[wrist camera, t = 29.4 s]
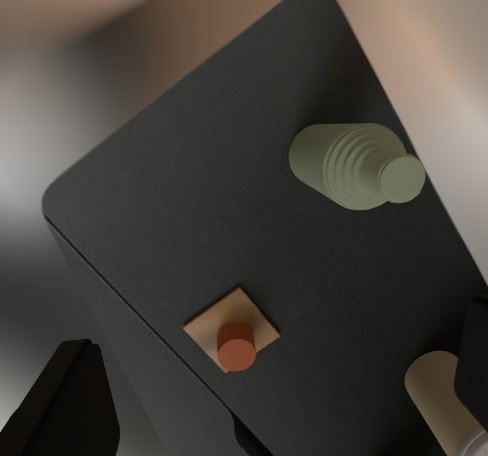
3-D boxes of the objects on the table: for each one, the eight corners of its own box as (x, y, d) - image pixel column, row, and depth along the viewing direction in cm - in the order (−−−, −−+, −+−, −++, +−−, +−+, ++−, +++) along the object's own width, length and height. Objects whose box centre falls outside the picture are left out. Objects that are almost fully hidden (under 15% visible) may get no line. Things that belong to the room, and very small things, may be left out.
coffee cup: (424, 416, 45) (495, 514, 34) (383, 378, 43) (445, 470, 32) (480, 372, 44) (574, 459, 33) (441, 331, 42) (528, 409, 30)
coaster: (182, 325, 38) (182, 328, 38) (239, 285, 37) (239, 287, 37) (225, 370, 40) (225, 373, 40) (279, 333, 40) (280, 336, 39)
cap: (230, 358, 39) (232, 378, 36) (209, 334, 38) (209, 352, 35) (259, 339, 39) (263, 358, 36) (239, 315, 38) (241, 331, 35)
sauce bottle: (276, 160, 34) (328, 188, 18) (316, 110, 33) (406, 97, 17) (319, 196, 35) (400, 250, 20) (358, 150, 34) (476, 170, 19)
